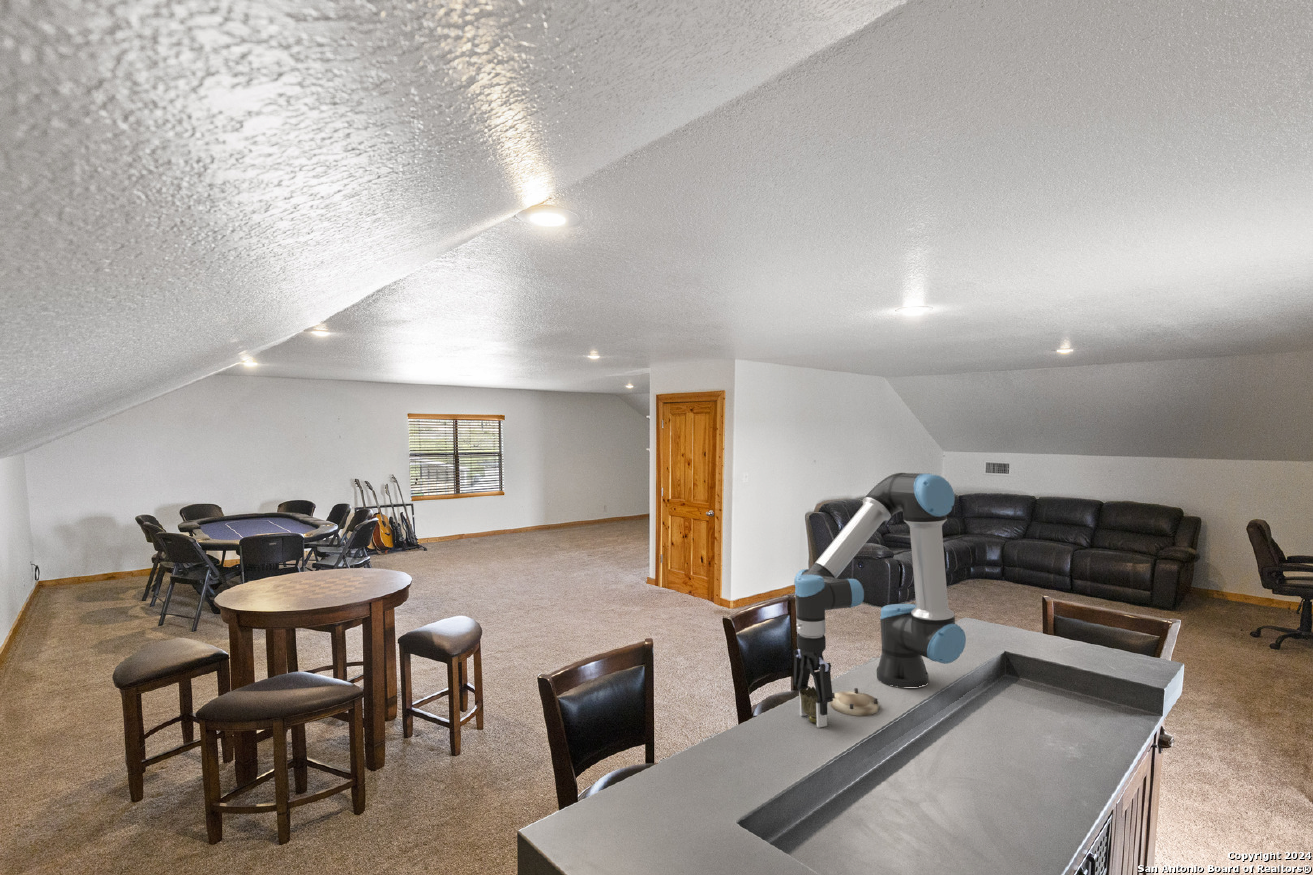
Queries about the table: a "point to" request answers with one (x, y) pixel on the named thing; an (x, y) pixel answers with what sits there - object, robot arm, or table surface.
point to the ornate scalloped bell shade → (809, 702)
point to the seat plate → (854, 703)
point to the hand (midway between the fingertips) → (813, 719)
